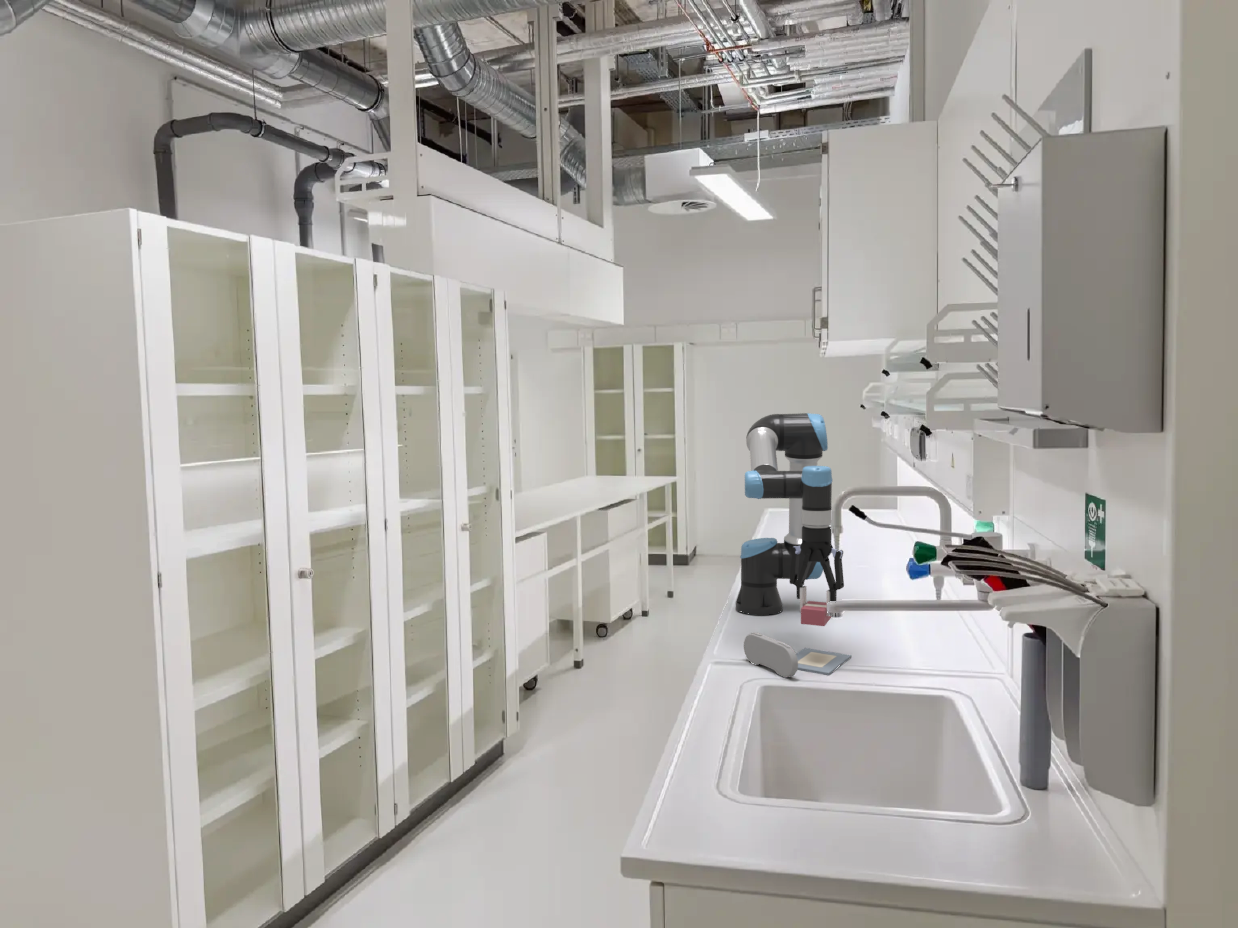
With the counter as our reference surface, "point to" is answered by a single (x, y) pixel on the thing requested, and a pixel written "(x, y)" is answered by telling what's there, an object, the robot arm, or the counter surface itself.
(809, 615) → the card deck box
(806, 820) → the counter surface
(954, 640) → the counter surface
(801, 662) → the grey flat board
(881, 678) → the counter surface
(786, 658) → the game controller
